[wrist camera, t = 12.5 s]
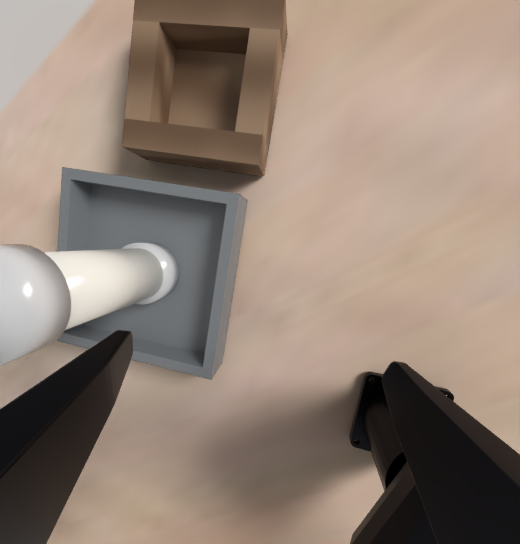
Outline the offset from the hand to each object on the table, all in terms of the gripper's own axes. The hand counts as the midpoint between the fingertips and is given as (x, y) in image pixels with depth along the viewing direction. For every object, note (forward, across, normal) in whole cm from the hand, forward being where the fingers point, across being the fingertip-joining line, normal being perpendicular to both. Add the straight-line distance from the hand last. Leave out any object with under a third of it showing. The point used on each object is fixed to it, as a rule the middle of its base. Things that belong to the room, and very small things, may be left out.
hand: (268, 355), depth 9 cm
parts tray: (+14, +8, +6) cm, 17 cm away
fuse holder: (+18, +5, -8) cm, 20 cm away
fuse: (+13, +8, +6) cm, 16 cm away
